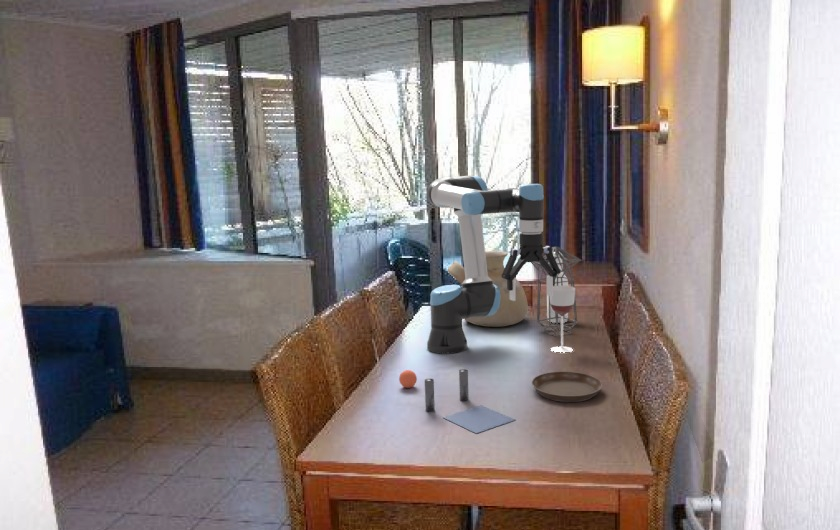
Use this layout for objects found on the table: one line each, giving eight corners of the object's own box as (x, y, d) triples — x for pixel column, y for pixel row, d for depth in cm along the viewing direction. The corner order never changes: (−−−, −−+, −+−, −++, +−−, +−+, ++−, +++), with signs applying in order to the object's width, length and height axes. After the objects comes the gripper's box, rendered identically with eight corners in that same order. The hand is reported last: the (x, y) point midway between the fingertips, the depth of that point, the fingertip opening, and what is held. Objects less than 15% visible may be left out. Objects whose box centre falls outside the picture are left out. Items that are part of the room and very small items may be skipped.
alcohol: (546, 318, 292) (546, 250, 287) (567, 318, 291) (567, 250, 286) (547, 323, 283) (547, 253, 279) (568, 323, 282) (568, 253, 277)
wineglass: (576, 346, 249) (576, 285, 245) (573, 354, 240) (573, 291, 236) (551, 345, 252) (551, 285, 248) (547, 352, 243) (547, 290, 239)
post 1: (423, 410, 192) (422, 379, 190) (431, 407, 193) (430, 377, 192) (429, 412, 190) (428, 382, 188) (436, 410, 191) (435, 380, 190)
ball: (396, 387, 212) (395, 370, 211) (410, 383, 215) (409, 366, 214) (406, 391, 207) (405, 374, 206) (420, 387, 210) (419, 370, 210)
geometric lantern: (552, 340, 259) (549, 250, 254) (530, 332, 273) (527, 247, 268) (585, 334, 265) (584, 246, 260) (562, 326, 279) (560, 243, 274)
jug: (532, 329, 276) (532, 257, 271) (450, 331, 276) (448, 259, 271) (523, 313, 304) (522, 247, 299) (448, 315, 305) (446, 250, 300)
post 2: (458, 399, 199) (457, 370, 197) (464, 397, 200) (464, 368, 199) (463, 402, 197) (462, 372, 195) (470, 400, 198) (469, 370, 197)
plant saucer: (598, 408, 189) (598, 397, 189) (525, 401, 197) (525, 390, 196) (604, 384, 208) (605, 374, 208) (538, 379, 216) (538, 369, 215)
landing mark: (443, 418, 185) (443, 417, 185) (481, 405, 193) (481, 405, 193) (476, 433, 174) (476, 433, 174) (515, 420, 182) (515, 419, 182)
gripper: (501, 236, 205) (502, 304, 209) (571, 231, 214) (570, 296, 217) (490, 234, 212) (491, 299, 216) (559, 228, 221) (558, 291, 224)
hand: (531, 298), depth 217 cm, fingers open, 13 cm apart
